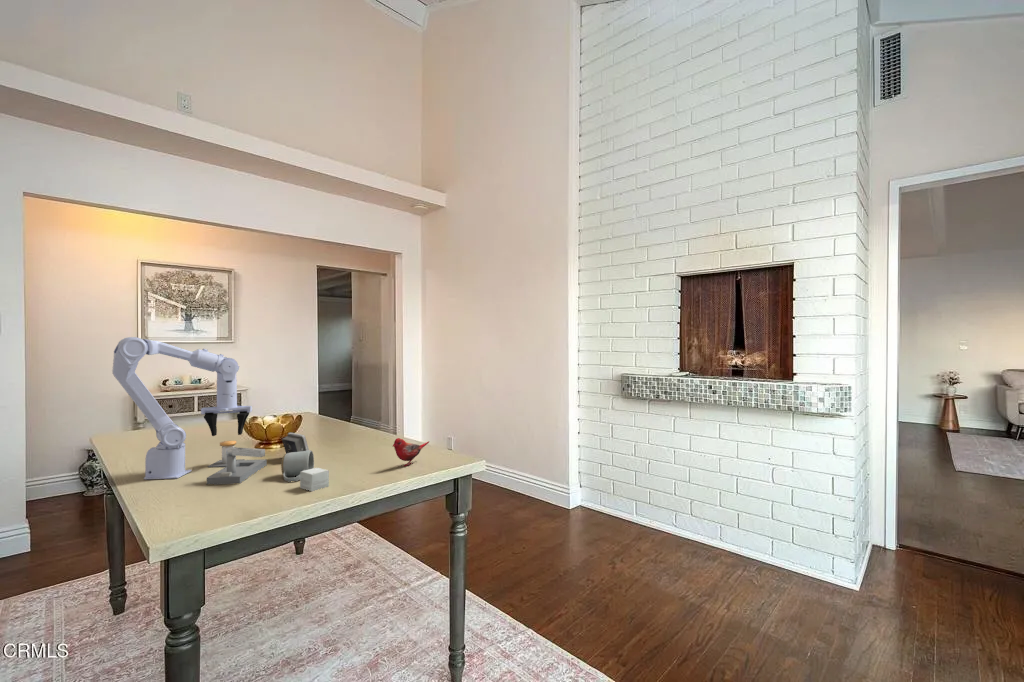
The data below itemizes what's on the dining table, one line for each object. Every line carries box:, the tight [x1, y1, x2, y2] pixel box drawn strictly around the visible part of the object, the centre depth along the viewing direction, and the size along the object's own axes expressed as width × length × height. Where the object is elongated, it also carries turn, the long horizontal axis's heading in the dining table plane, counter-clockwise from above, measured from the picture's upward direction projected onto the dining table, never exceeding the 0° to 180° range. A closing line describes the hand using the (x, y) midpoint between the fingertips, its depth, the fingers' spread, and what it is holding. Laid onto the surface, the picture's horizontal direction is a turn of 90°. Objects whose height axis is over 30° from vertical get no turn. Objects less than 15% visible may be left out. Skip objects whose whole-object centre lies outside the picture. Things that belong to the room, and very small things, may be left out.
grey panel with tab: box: [206, 455, 268, 485], centre depth 146 cm, size 9×20×7 cm, turn 7°
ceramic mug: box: [280, 449, 315, 483], centre depth 143 cm, size 11×8×8 cm
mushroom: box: [219, 440, 237, 464], centre depth 158 cm, size 5×5×7 cm
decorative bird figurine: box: [391, 437, 430, 467], centre depth 159 cm, size 3×18×10 cm, turn 148°
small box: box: [299, 467, 330, 492], centre depth 134 cm, size 6×6×5 cm
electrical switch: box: [281, 432, 310, 454], centre depth 165 cm, size 9×5×9 cm, turn 57°
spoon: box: [226, 446, 266, 458], centre depth 140 cm, size 3×12×2 cm, turn 78°
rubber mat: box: [207, 458, 246, 468], centre depth 158 cm, size 8×8×1 cm
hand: (227, 434), depth 155 cm, fingers open, 7 cm apart
